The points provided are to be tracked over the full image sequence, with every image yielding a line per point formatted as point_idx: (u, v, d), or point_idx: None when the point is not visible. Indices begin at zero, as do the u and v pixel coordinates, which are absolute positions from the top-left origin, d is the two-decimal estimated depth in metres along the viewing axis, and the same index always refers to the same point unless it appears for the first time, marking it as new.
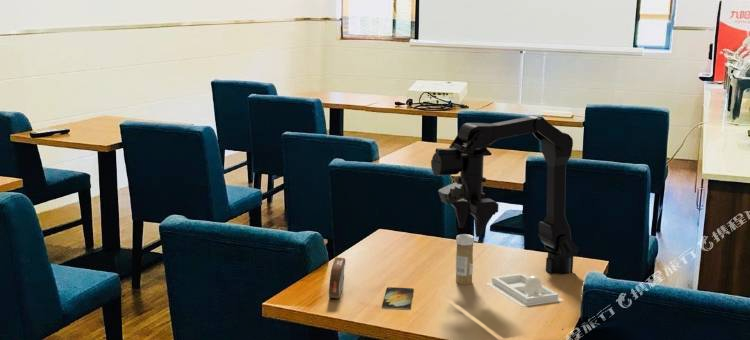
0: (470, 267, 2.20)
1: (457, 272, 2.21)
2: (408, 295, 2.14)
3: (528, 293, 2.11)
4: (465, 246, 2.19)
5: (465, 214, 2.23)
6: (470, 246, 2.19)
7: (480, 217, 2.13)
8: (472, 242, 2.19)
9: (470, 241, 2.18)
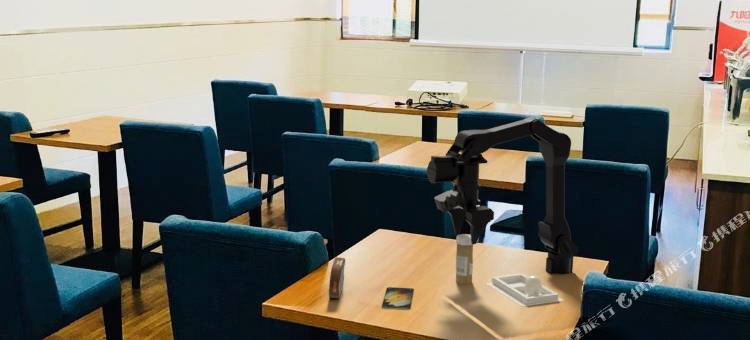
0: (470, 267, 2.20)
1: (457, 272, 2.21)
2: (408, 295, 2.14)
3: (528, 293, 2.11)
4: (465, 246, 2.19)
5: (461, 221, 2.24)
6: (470, 246, 2.19)
7: (476, 224, 2.14)
8: None
9: (470, 241, 2.18)
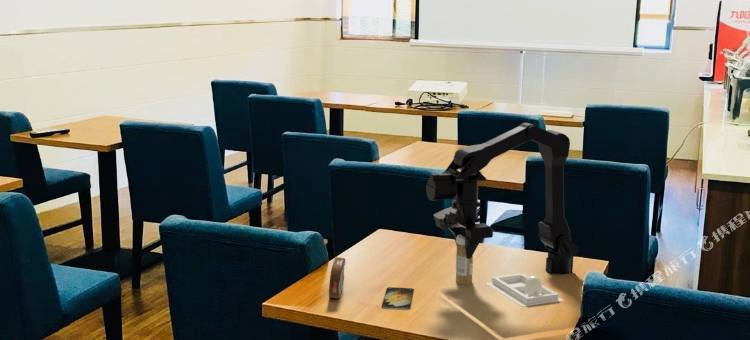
0: (470, 267, 2.20)
1: (457, 272, 2.21)
2: (408, 295, 2.14)
3: (528, 293, 2.11)
4: None
5: None
6: None
7: (471, 239, 2.17)
8: None
9: None
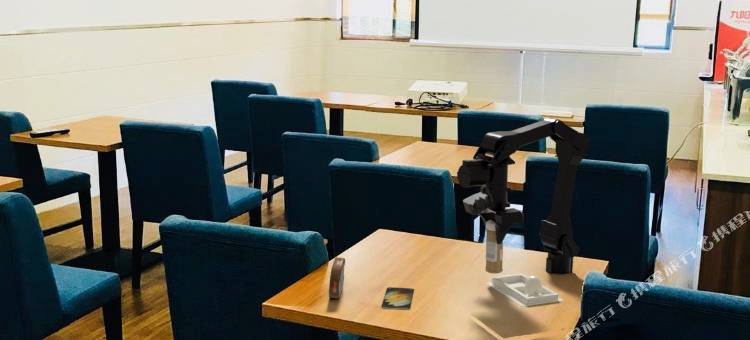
0: (500, 253, 2.18)
1: (487, 258, 2.19)
2: (408, 295, 2.14)
3: (528, 293, 2.11)
4: (495, 232, 2.16)
5: None
6: None
7: (501, 225, 2.14)
8: None
9: None
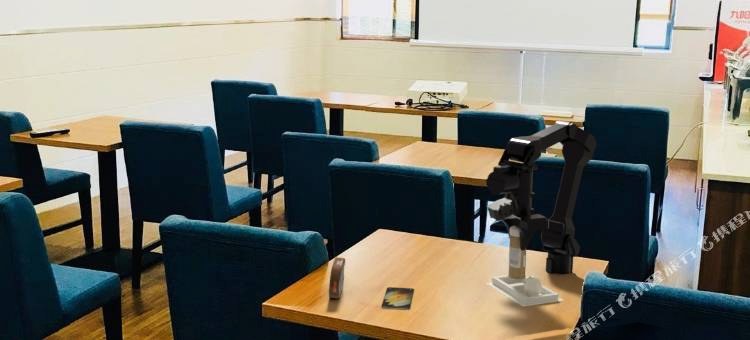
0: (524, 259, 2.16)
1: (510, 264, 2.17)
2: (408, 295, 2.14)
3: (528, 293, 2.11)
4: (519, 238, 2.15)
5: None
6: None
7: (525, 231, 2.13)
8: None
9: None
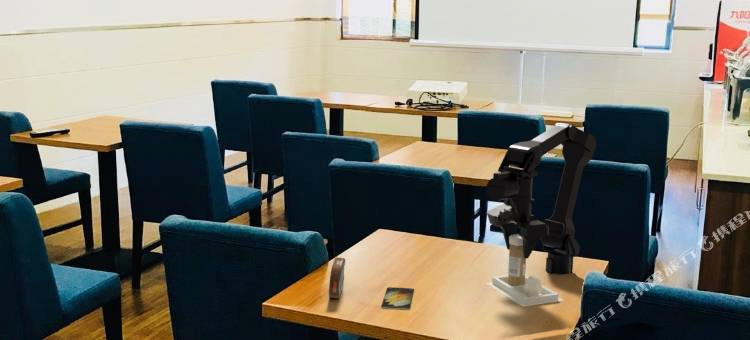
0: (523, 268, 2.17)
1: (510, 273, 2.18)
2: (408, 295, 2.14)
3: (528, 293, 2.11)
4: (518, 246, 2.15)
5: None
6: None
7: (528, 239, 2.12)
8: None
9: None
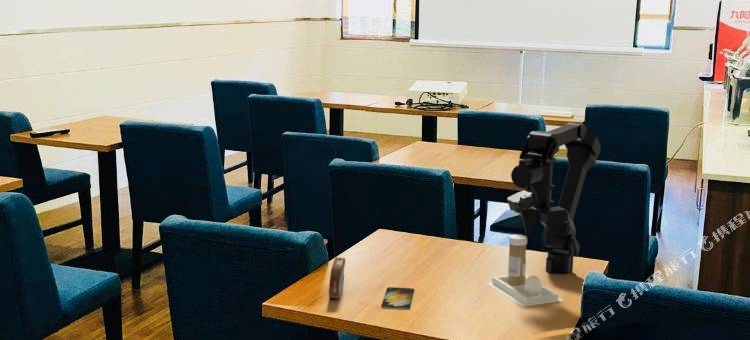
0: (523, 268, 2.17)
1: (510, 273, 2.18)
2: (408, 295, 2.14)
3: (528, 293, 2.11)
4: (518, 246, 2.15)
5: (532, 221, 2.23)
6: (523, 246, 2.16)
7: (550, 225, 2.13)
8: (525, 242, 2.16)
9: (523, 241, 2.15)
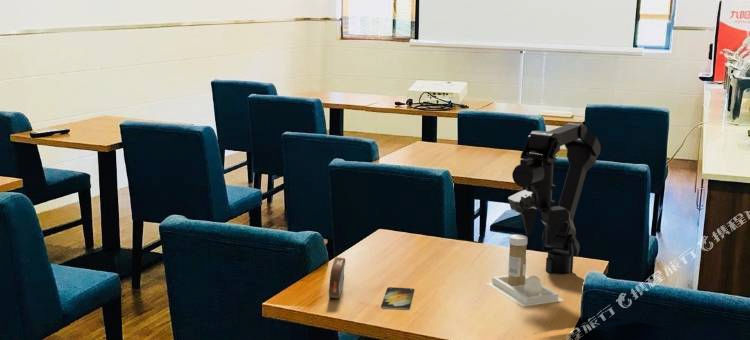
0: (523, 268, 2.17)
1: (510, 273, 2.18)
2: (408, 295, 2.14)
3: (528, 293, 2.11)
4: (519, 247, 2.15)
5: (532, 221, 2.23)
6: (524, 247, 2.16)
7: (551, 225, 2.13)
8: (526, 242, 2.16)
9: (524, 241, 2.15)
